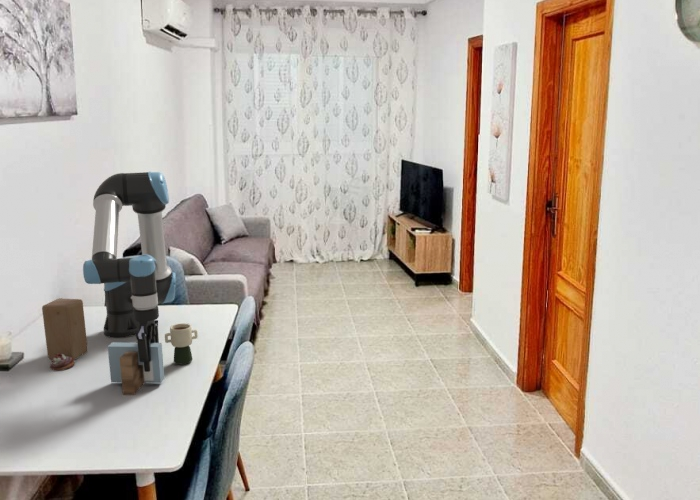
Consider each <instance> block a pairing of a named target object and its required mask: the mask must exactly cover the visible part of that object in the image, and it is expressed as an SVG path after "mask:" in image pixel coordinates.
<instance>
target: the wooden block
mask: <svg viewBox="0 0 700 500" xmlns="http://www.w3.org/2000/svg"><path fill="white" fill-rule="evenodd" d="M41 310H42V318H43V319H42V320H43V326H44V336H45V345H46V352H47V358H48V360H51V361H52V359H53V358H54V357H55V356H56V353H60V354H64V355H65V356H69V357H72V358H73V359H74V361H75V360H77V359H78V358H81V356H83V355H84V354H86V353H87V352H88V350H89V348H88V339H87V331H86V330H87V329H86V320H85V319H86V318H85V312H84V311H85V310H84V302H83V299H80V298H63V297H62V298H60V297H59V298H56V299H54V300H52V301H50V302H48V303H46V304H43V305H42V307H41Z"/></svg>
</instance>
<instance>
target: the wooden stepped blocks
mask: <svg viewBox="0 0 700 500" xmlns="http://www.w3.org/2000/svg"><path fill="white" fill-rule="evenodd" d="M135 343H137V341H135ZM120 367H121V378H122V382H121V386H122V395H123V396H126V395H127V396H128V395H132V396H133V395H136V393H137V392H138V391H140V389H141V388H142V387H143V385H144V384H145V383H144V372H143V365H138V354H137V352H132V351H126V352H125V353H124V354H123V355H122V356H121V357H120Z"/></svg>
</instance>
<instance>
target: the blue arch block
mask: <svg viewBox="0 0 700 500" xmlns="http://www.w3.org/2000/svg"><path fill="white" fill-rule="evenodd" d="M126 351H132V352H137V354H138V365H143V362H140V361H139V351H138V343H136V342H111V343H110V344H109V345H107V352H108V353H107V354H108V363H109V374H110V375H109V377H110V382H111V383H122V378H121V367H120V357H121V356H122V355H123V354H124V353H125V352H126ZM163 355H164V354H163V344H162V342H159V343H151V360H152V364H153V376H154V380H153V381H145V379H144V384H150V383H151V384H161V383H162V382H163V381H164V380H165V371H164V370H165V369H164V357H163ZM143 372H144V368H143Z"/></svg>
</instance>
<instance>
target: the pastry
mask: <svg viewBox="0 0 700 500" xmlns="http://www.w3.org/2000/svg"><path fill="white" fill-rule="evenodd" d="M75 363H76V362H75V360H74V359H73V358H72V357H69V356H65V355H64V354H60V353H56V356H55V357H54V358H53V359H52V360H51V364H50V365H49V368H50V369H51V370H52V371H58V372H59V371H60V372H61V371H65V370H69V369H72V368H73V367H74V366H75Z"/></svg>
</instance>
